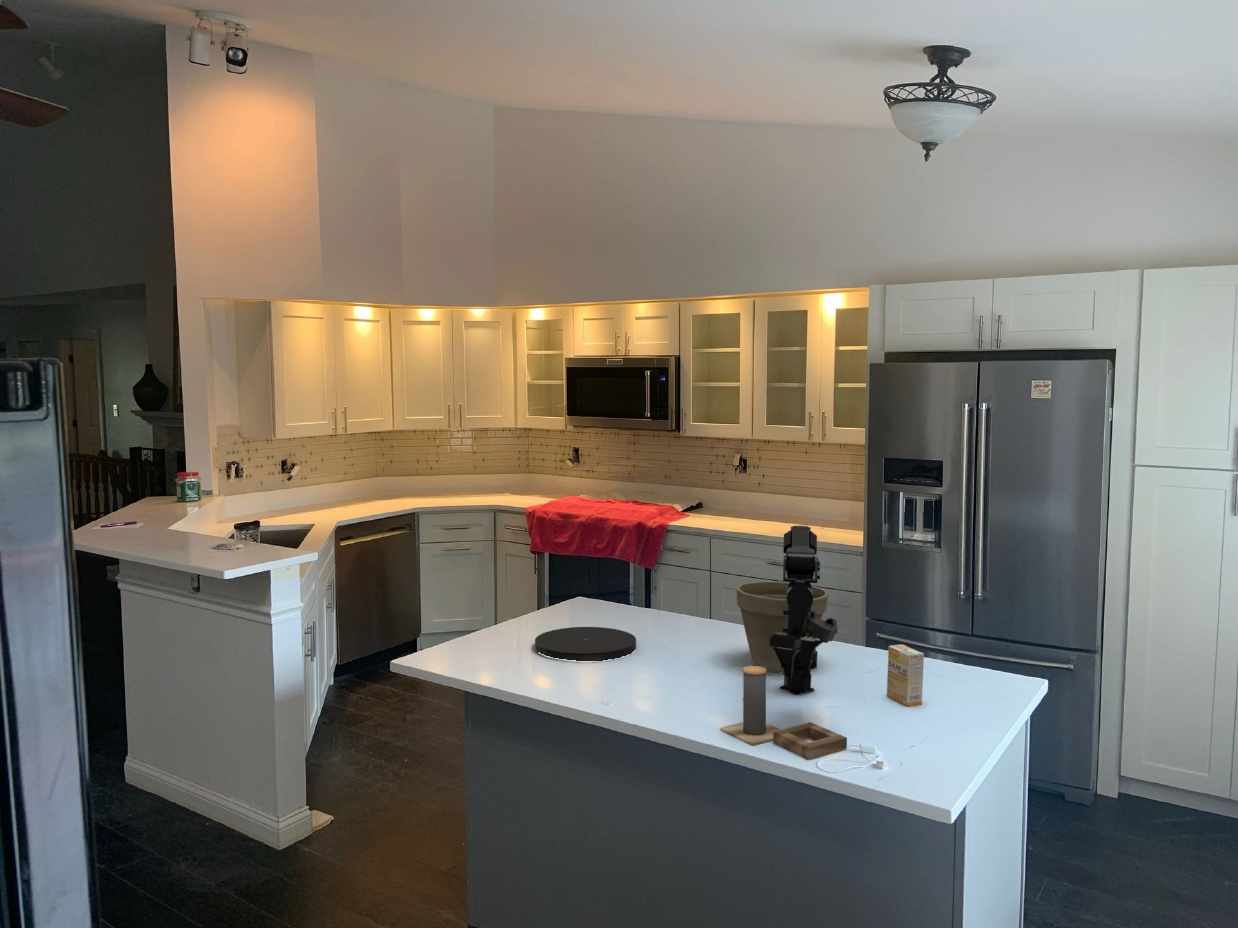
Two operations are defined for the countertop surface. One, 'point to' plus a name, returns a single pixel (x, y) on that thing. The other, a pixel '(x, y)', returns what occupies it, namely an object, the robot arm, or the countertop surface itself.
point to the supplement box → (905, 675)
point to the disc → (585, 643)
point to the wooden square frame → (821, 746)
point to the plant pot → (769, 617)
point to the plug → (754, 700)
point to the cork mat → (751, 739)
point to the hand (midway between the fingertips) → (797, 674)
